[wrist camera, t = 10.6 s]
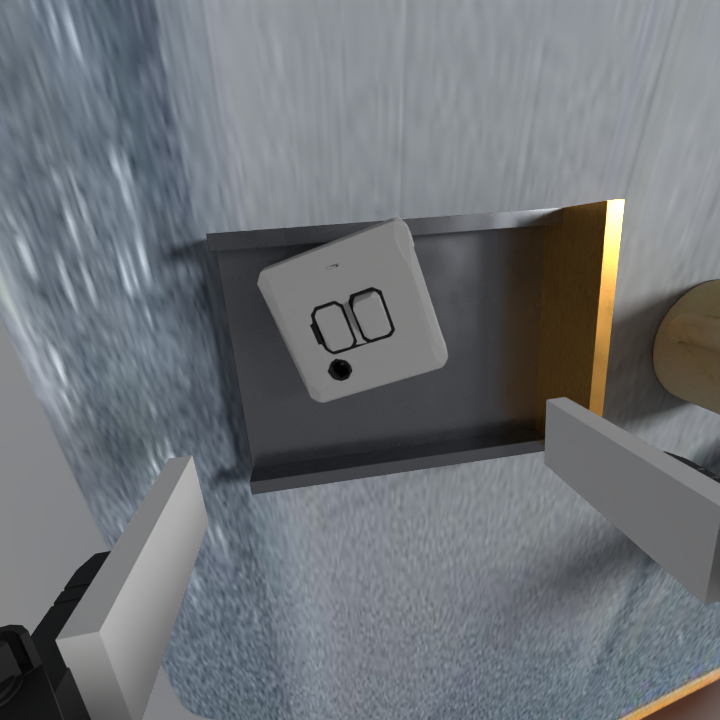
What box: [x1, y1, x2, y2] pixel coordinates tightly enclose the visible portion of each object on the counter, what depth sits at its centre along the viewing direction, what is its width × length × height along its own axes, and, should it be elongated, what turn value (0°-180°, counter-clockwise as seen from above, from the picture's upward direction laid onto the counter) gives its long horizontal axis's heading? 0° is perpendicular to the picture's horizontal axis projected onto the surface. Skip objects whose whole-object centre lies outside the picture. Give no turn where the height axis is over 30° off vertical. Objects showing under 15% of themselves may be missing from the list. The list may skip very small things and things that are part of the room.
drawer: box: [206, 199, 624, 494], centre depth 27 cm, size 18×24×8 cm
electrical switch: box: [257, 218, 448, 403], centre depth 25 cm, size 9×5×9 cm
